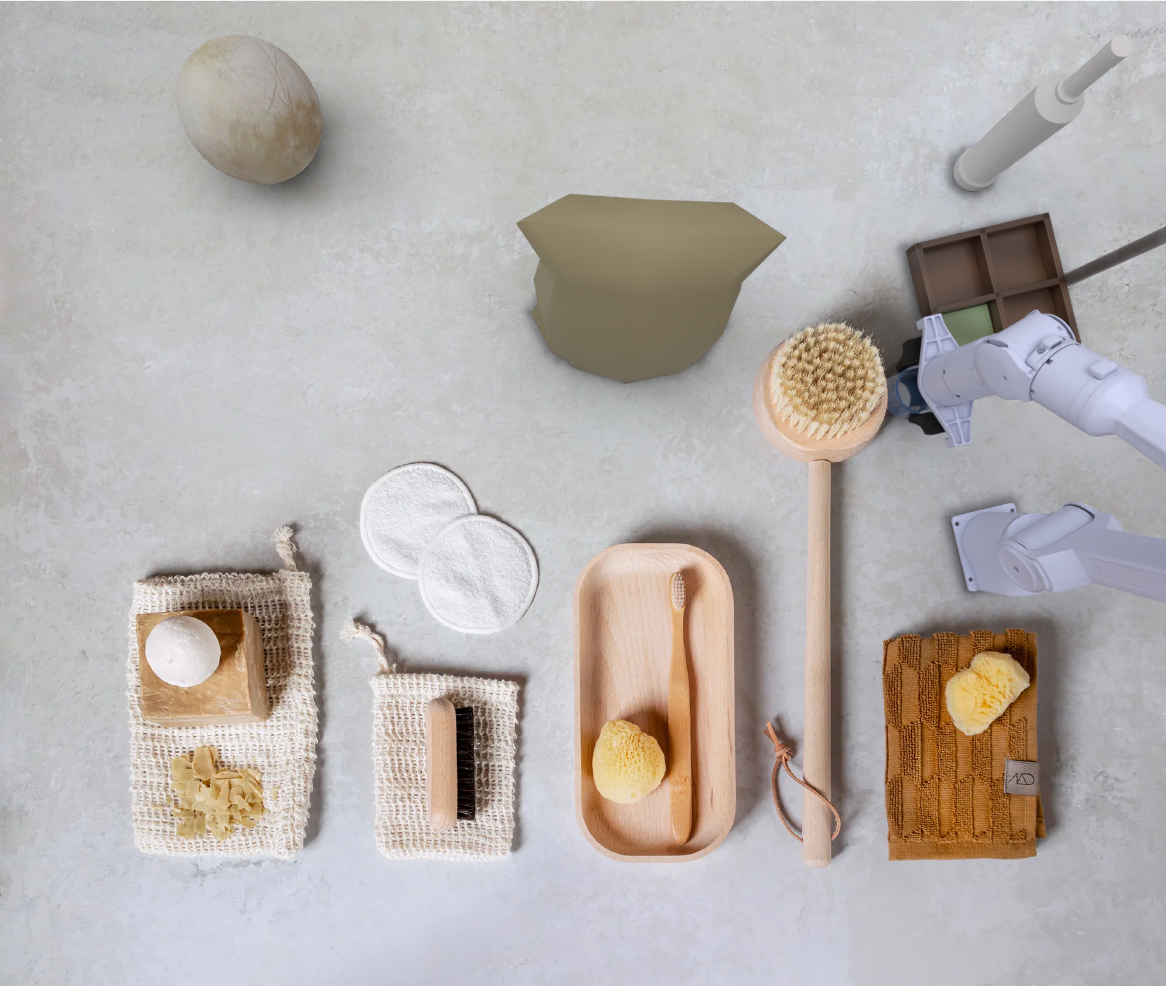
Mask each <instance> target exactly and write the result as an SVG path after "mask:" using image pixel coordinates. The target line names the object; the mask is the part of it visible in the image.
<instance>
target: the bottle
mask: <svg viewBox="0 0 1166 986" xmlns="http://www.w3.org/2000/svg"><path fill="white" fill-rule="evenodd" d="M1133 50H1134V42H1133V40H1132V38H1130V37H1129V36H1128V35H1126V34H1118V35H1116V36H1114V37H1113V38H1112V39H1111V40H1110V41H1108V42H1107V43H1106V44H1105V45H1104V46H1103V47H1102V48H1101V49H1100V50H1098V51H1097V53H1095V54H1094V55H1093V56H1092V57H1091V58H1090V59H1089V60H1087V62H1085V63H1084V64H1083V65H1082V66H1081V67H1079V68H1078V69H1077V70H1076V71H1074V73H1073V74H1071V75H1068V74H1066V73H1053V74H1051V75H1048V76H1046V77H1044V78H1043V79H1042V80H1041V81H1039V83H1038V84H1037V85H1036V86H1035V87H1033V89H1031V90H1030V91H1029V92H1028V93H1027V94H1026V95H1025V96H1024V97H1023V98H1022V99H1021V100H1020V101H1019V102H1018V103H1017V104H1016V105H1015V106H1014V107H1013V108H1011V110H1010V111H1008V112H1007V113H1006V114H1005V115H1004V116H1003V117H1002V118H1001V119H1000V120H999V121H998V122H997V123H996V124H995V125H994V126H993V127H991V129H990V130H989V131H988V132H986V134H984V135H983V137H981V139H979V140H978V141H977V142H976V143H975V144H974V145H973V146H970V147H968V148H966V149H965V150H964V151H963V152H962V153H961V154H960V156H959V157H957V159H956V161H955V162H954V166H953V170H952V177H953V179H954V181H955V183H956V185H958V187H960V188H961V189H962V190H964V191H968V192H977V191H980V190H983V189H985V188H987V187H988V186H991V185H992V184H993V183H994V182H995V180H996V179H998V177H999V176H1000V175H1001V174H1002V173H1003V172H1006V170H1008V169H1009V168H1010V167H1012V166H1013V165H1014V164H1016V163H1017V162H1019V161H1020V160H1021V159H1023V158H1025V156H1027V155H1028V154H1030V153H1031V152H1032V151H1033V150H1035V149H1036V148H1038V147H1040V146H1041V144H1044V142H1046V141H1047V140H1048V139H1050V138H1051V137H1053V136H1054V135H1055V134H1057V133H1058V132H1060V131H1061V130H1062V129H1063V128H1065V127H1066V126H1067V125H1069V124H1070V123H1072V122H1073V121H1074V120H1075V119H1076V118H1078V116H1079V115H1080V114H1081V113H1082V111H1083V108H1084V106H1085V91H1086V90H1087V89H1088V88H1090V87H1091V86H1092V85H1094V84H1095V82H1097V81H1098V80H1099V79H1101V78H1102V77H1103V76H1104V75H1105V74H1107V73H1108V72H1109V71H1110V70H1111V69H1114V68H1115V67H1116V66H1117V65H1118V64H1120V63H1121V62H1122V61H1123V60H1125V59H1126V58H1127V57H1128V56H1130V54H1132V52H1133Z"/></svg>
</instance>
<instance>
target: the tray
mask: <svg viewBox="0 0 1166 986" xmlns="http://www.w3.org/2000/svg"><path fill="white" fill-rule="evenodd" d="M1052 223H1053V222H1052V219H1051V215H1050V212H1049V211H1048V212H1043V213H1039V214H1035V215H1030V216H1026V217H1021V218H1017V219H1013V220H1009V221H1005V222H1000V223H996V224H993V225H988V226H987V225H986V226H983V227H979V228H975V229H971V230H966V231H962V232H958V233H954V234H950V235H945V236H942V237H938V238H933V239H928V240H925V241H920V242H916V243H913V244H912V245H911V246H910V247H909V248H907V249H906V250H905V254H906V255H905V256H906V259H907V263H908V267H909V270H910V273H911V275H910V276H911V279H912V283H913V287H914V291H915V295H916V299H917V303H918V308H919V311H920V315H921V319H922V318H924V317H928V316H932V315H936V314H942V318H943V321H944V323H945V325H946V327H947V329H948V330H949V332H950V333H951V334H952V336H953V338H954V339H955V341H956V342H957V344H958V345H959V347H961V346H963V345H966V344H968V343H971V342H973V341H975V340H978V339H980V338H983V337H985V336H989V335H992V334H996V333H999V332H1001V331H1003V330H1004V329H1006V328H1008V327H1009V326H1011V325H1013V324H1015V323H1016V322H1018V321H1020V320H1021V319H1023V318H1025V317H1026V316H1027V315H1028V314H1029V313H1030V312H1032V311H1034V310H1038V311H1039V312H1040V313H1041V314H1052V315H1055V316H1057V317H1059V318H1060V319H1062V320H1063V321H1064V322H1065V323H1066V324H1067V325H1068V326H1069V327H1070V329H1071V331H1072V332H1073V334H1074V336H1075V339H1076V342H1078V343H1080V344H1082V340H1081V337H1080V332H1079V328H1078V325H1077V321H1076V316H1075V312H1074V309H1073V308H1074V307H1073V304H1072V301H1071V296H1070V291H1069V289H1068V288H1069V287H1071V286H1073V285H1075V284H1077V283H1080V282H1082V281H1084V280H1087V279H1089V278H1091V277H1093V276H1096V275H1098V274H1100V273H1102V272H1105V271H1107V270H1109V269H1112V268H1114V267H1116V266H1118V265H1120V264H1123V263H1125V262H1127V261H1129V260H1133V259H1134V258H1137V257H1138V256H1140V255H1144V254H1145V253H1148V252H1149V251H1152V250H1154V249H1156V248H1159V247H1161V246H1164V245H1166V226H1163V227H1161V228H1158V229H1157V230H1155V231H1152V232H1150V233H1148V234H1146V235H1144V236H1142V237H1140V238H1138V239H1135V240H1133V241H1132V242H1131V241H1130V242H1129V243H1127V244H1125V245H1123V246H1120V247H1119V248H1117V249H1114V250H1112V251H1110V252H1108V253H1105V254H1104V255H1102V256H1100V257H1097V258H1096V259H1093V260H1091V261H1088V262H1087V263H1085V264H1083V265H1080V266H1078V267H1077V268H1074V269H1071V270H1070V271H1068V272H1066V273H1065V272H1064V268H1063V263H1062V259H1061V255H1060V252H1059V248H1058V243H1057V239H1056V235H1055V231H1054V228H1053V224H1052Z"/></svg>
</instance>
